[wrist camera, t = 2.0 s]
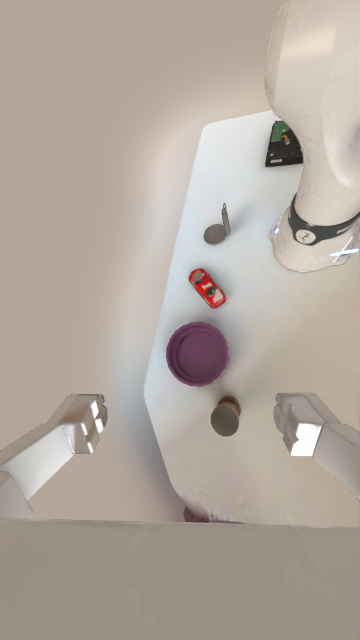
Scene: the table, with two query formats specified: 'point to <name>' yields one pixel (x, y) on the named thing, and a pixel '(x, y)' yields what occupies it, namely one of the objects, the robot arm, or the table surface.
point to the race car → (207, 288)
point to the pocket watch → (218, 230)
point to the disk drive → (283, 146)
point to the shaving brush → (226, 416)
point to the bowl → (197, 354)
